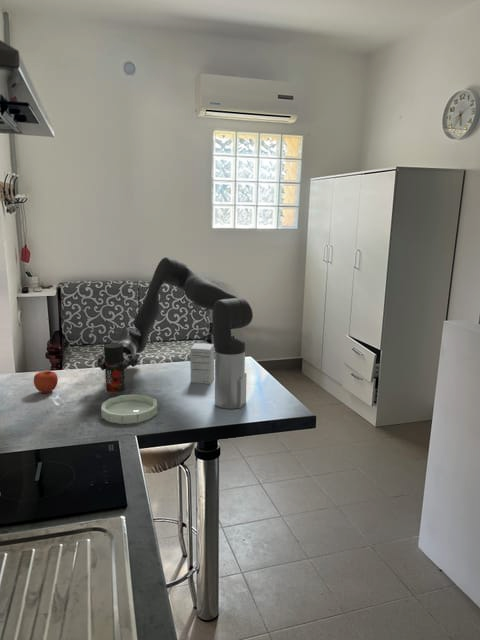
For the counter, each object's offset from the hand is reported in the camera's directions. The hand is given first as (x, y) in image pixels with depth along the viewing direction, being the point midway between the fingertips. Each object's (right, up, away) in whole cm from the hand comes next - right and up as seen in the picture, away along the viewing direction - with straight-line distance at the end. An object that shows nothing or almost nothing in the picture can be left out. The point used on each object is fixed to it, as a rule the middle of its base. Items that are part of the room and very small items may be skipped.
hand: (112, 367), depth 154 cm
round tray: (+8, -12, -10) cm, 18 cm away
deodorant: (0, -8, +4) cm, 9 cm away
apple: (-23, -9, +5) cm, 25 cm away
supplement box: (+27, -7, +19) cm, 34 cm away
